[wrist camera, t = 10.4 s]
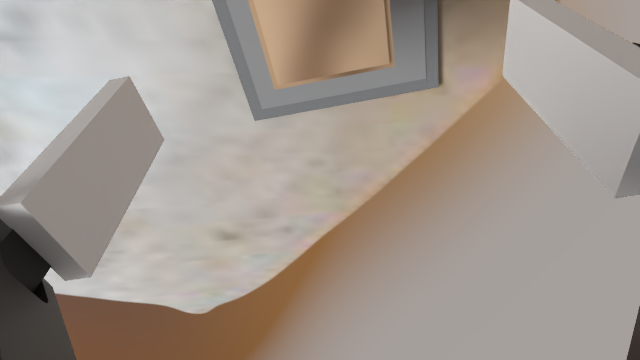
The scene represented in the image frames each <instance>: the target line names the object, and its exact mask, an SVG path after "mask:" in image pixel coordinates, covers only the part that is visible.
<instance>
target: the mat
mask: <svg viewBox="0 0 640 360" xmlns="http://www.w3.org/2000/svg"><path fill="white" fill-rule="evenodd" d="M212 1H213V4H214V7H215V10H216V13H217V15H218V18H219V21H220V24H221V27H222V30H223V32H224V35H225V38H226V41H227V44H228V47H229V49H230V52H231V55H232V58H233V61H234V63H235V66H236V69H237V72H238V75H239V78H240V80H241V83H242V86H243V89H244V92H245V95H246V97H247V100H248V103H249V106H250V109H251V112H252V114H253V117H254V120H255V121H257V120H262V119H267V118H273V117H278V116H284V115H289V114H295V113H300V112H305V111H311V110H316V109H322V108H327V107H332V106H338V105H343V104H349V103H354V102H360V101H365V100H370V99H376V98H381V97H387V96H392V95H397V94H403V93H408V92H414V91H419V90H425V89H430V88H435V87H438V0H390V12H391V24H392V36H393V48H394V60H395V67H390V68H385V69H380V70H375V71H370V72H364V73H359V74H354V75H349V76H344V77H339V78H333V79H328V80H323V81H318V82H313V83H308V84H302V85H297V86H292V87H287V88H282V89H277V90H274V86H273V83H272V80H271V76H270V73H269V70H268V66H267V63H266V60H265V56H264V53H263V50H262V46H261V43H260V40H259V36H258V33H257V30H256V26H255V23H254V20H253V16H252V13H251V10H250V6H249V3H248V0H212Z"/></svg>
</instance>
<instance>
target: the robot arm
mask: <svg viewBox="0 0 640 360" xmlns="http://www.w3.org/2000/svg"><path fill="white" fill-rule="evenodd" d="M502 76H503V77H504V78H505V79H506V80H507V81H508V82H509V84H510V85H511V86H512V87H513V88H514V89H515V90H516V91H517V92H518V93H519V95H521V97H522V98H523V99H524V100H525V101H526V102H527V103H528V104H529V106H530V107H531V108H532V109H533V110H534V111H535V112H536V113H537V114H538V115H539V116H540V118H541V119H543V121H544V122H545V123H546V124H547V125H548V126H549V127H550V129H551V130H552V131H553V132H554V133H555V134H556V135H557V136H558V137H559V138H560V139H561V141H562V142H563V143H564V144H565V145H566V146H567V147H568V148H569V149H570V150H571V152H573V154H574V155H575V156H576V157H577V158H578V159H579V160H580V161H581V162H582V163H583V165H584V166H585V167H586V168H587V169H588V170H589V171H590V172H591V173H592V175H593V176H594V177H595V178H596V179H597V180H598V181H599V182H600V183H601V184H602V185H603V187H604V188H605V189H606V190H607V191H608V192H609V193H610V194H611V195H612V196H613V198H619V197H627V196H633V195H640V44H637V43H631V42H629V41H627V40H625V39H624V38H622V37H620V36H618V35H616V34H614V33H613V32H611V31H609V30H607V29H605V28H604V27H602V26H600V25H598V24H596V23H594V22H593V21H591V20H589V19H587V18H586V17H584V16H582V15H580V14H578V13H576V12H575V11H573V10H571V9H569V8H567V7H565V6H564V5H562V4H560V3H558V2H557V1H555V0H510V7H509V16H508V26H507V35H506V45H505V54H504V63H503V73H502ZM163 141H164V138H163V136H162V135H161V133H160V131H159V129H158V127H157V126H156V124H155V122H154V120H153V118H152V116H151V115H150V113H149V111H148V109H147V107H146V106H145V104H144V102H143V100H142V98H141V97H140V95H139V93H138V91H137V89H136V87H135V86H134V84H133V82H132V80H131V78H130V77H129V76H128V77H123V78H118V79H114V80H109V81H108V83H107V84H106V85H105V86H104V87H103V88H102V89H101V90H100V91H99V92H98V93H97V94H96V95H95V96H94V97H93V99H92V100H91V101H90V102H89V103H88V104H87V105H86V106H85V107H84V108H83V109H82V110H81V111H80V112H79V113H78V115H77V116H76V117H75V118H74V119H73V120H72V121H71V122H70V123H69V124H68V125H67V126H66V127H65V128H64V130H63V131H62V132H61V133H60V134H59V135H58V136H57V137H56V138H55V139H54V140H53V141H52V142H51V143H50V144H49V146H48V147H47V148H46V149H45V150H44V151H43V152H42V153H41V154H40V155H39V156H38V157H37V158H36V159H35V160H34V162H33V163H32V164H31V165H30V166H29V167H28V168H27V169H26V170H25V171H24V172H23V173H22V174H21V175H20V176H19V178H18V179H17V180H16V181H15V182H14V183H13V184H12V185H11V186H10V187H9V188H8V189H7V190H6V191H5V193H4V194H3V195H2V196H1V197H0V360H76V357H75V354H74V351H73V348H72V345H71V342H70V339H69V336H68V333H67V330H66V327H65V324H64V321H63V318H62V315H61V312H60V309H59V306H58V302H57V299H56V296H55V293H54V290H53V287H52V286H51V285H50V284H49V283H48V282H47V281H46V280H45V279H44V277H45V275H46V273H47V272H48V270H49V269H50V267H51V268H52V269H53V270H54V271H55V272H56V273H57V274H58V275H59V276H61V277H62V278H63V279H64V280H65V281H67V280H74V279H81V278H87V277H91V276H92V274H93V272H94V270H95V269H96V267H97V265H98V263H99V261H100V259H101V257H102V255H103V254H104V252H105V250H106V248H107V246H108V244H109V242H110V240H111V239H112V237H113V235H114V233H115V231H116V229H117V227H118V225H119V224H120V222H121V220H122V218H123V216H124V214H125V212H126V210H127V209H128V207H129V205H130V203H131V201H132V199H133V197H134V196H135V194H136V192H137V190H138V188H139V186H140V184H141V182H142V181H143V179H144V177H145V175H146V173H147V171H148V169H149V167H150V166H151V164H152V162H153V160H154V158H155V156H156V154H157V152H158V151H159V149H160V147H161V145H162V143H163ZM627 360H640V307H639V311H638V315H637V319H636V323H635V328H634V331H633V336H632V340H631V344H630V348H629V352H628V356H627Z"/></svg>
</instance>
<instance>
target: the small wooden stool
mask: <svg viewBox="0 0 640 360" xmlns="http://www.w3.org/2000/svg"><path fill="white" fill-rule="evenodd" d="M248 3H249V6H250V10H251V13H252V16H253V20H254V23H255V26H256V30H257V33H258V36H259V40H260V43H261V46H262V50H263V53H264V56H265V60H266V63H267V66H268V70H269V73H270V76H271V80H272V83H273V86H274V90H277V89H282V88H287V87H292V86H297V85H302V84H308V83H313V82H318V81H323V80H328V79H333V78H339V77H344V76H349V75H354V74H359V73H364V72H370V71H375V70H380V69H385V68H390V67H395V60H394V48H393V36H392V24H391V12H390V0H248Z"/></svg>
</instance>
